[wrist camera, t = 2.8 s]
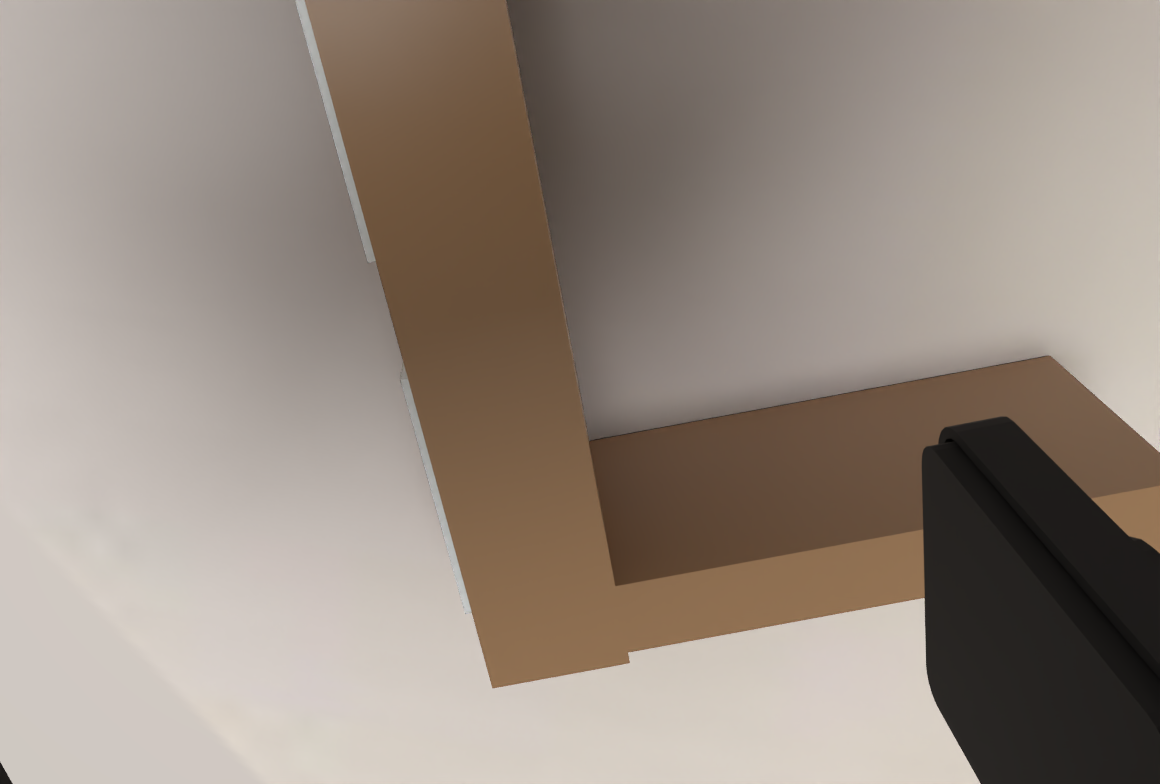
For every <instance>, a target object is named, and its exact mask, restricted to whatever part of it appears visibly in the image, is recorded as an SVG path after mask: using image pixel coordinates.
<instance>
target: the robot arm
mask: <svg viewBox="0 0 1160 784" xmlns="http://www.w3.org/2000/svg"><path fill="white" fill-rule="evenodd" d="M922 503H923V545H924V588H925V631H926V667H927V675H928V680H929V684H930V688H931V691H932V694H933V697H934V700H935V702H936V704H937V706H938V708H939V710H940V712H941V714H942V715H943V717H944V719H945V721H946V722H947V724H948V726H949V728H950V730H951V731H952V733H953V735H954V737H955V738H956V740H957V742H958V744H959V746H960V747H961V749H962V751H963V753H964V754H965V756H966V758H967V760H968V762H969V763H970V765H971V767H972V769H973V770H974V772H975V774H976V776H977V778H978V779H979V781H980V783H981V784H1160V553H1159V552H1158V551H1157V550H1155V549H1154V548H1153V547H1152V546H1150V545H1149V544H1147V543H1146V542H1145V541H1143V540H1142V539H1139V538H1134V537H1130V536H1128V535H1127V534H1126V533H1125V532H1124V531H1123V530H1122V529H1121V528H1120V527H1119V526H1118V525H1117V524H1116V523H1115V522H1114V521H1113V520H1112V519H1111V518H1110V517H1109V516H1108V515H1107V514H1106V513H1105V512H1104V511H1103V510H1102V509H1101V508H1100V507H1099V506H1098V505H1097V504H1096V503H1095V502H1094V501H1093V500H1092V499H1091V498H1090V497H1089V496H1088V495H1087V494H1086V493H1085V492H1084V491H1083V490H1082V489H1081V488H1080V487H1079V486H1078V485H1077V484H1076V483H1075V482H1074V481H1073V480H1072V479H1071V478H1070V477H1069V476H1068V475H1067V474H1066V473H1065V472H1064V471H1063V470H1062V469H1061V468H1060V467H1059V466H1058V465H1057V464H1056V463H1055V462H1054V461H1053V460H1052V459H1051V458H1050V457H1049V456H1048V455H1047V454H1046V453H1045V452H1044V451H1043V450H1042V449H1041V448H1040V447H1039V446H1038V445H1037V444H1036V443H1035V442H1034V441H1033V440H1032V439H1031V438H1030V437H1029V436H1028V435H1027V434H1026V433H1025V432H1024V431H1023V430H1022V429H1021V428H1020V427H1019V426H1018V425H1017V424H1016V423H1015V422H1014V421H1013V420H1011V419H1010V418H1008V417H1005V416H1000V417H995V418H990V419H985V420H980V421H974V422H969V423H964V424H959V425H954V426H948V427H945V428H944V429H943V430H942V431H941V433H940V436H939V441H938V444H937V445H932V446H926V447H925V448H924V450H923V453H922ZM0 784H12V782H11V780H10V779H9V777H8V775H7V773H6V772H5V770H4V768H3V766H2V764H1V763H0Z"/></svg>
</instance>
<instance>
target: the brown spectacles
mask: <svg viewBox="0 0 1160 784" xmlns="http://www.w3.org/2000/svg"><path fill="white" fill-rule="evenodd" d="M295 3H296V6H297V10H298V13H299V17H300V21H301V24H302V28H303V31H304V35H305V39H306V42H307V46H308V49H309V53H310V57H311V60H312V64H313V67H314V71H315V75H316V78H317V82H318V85H319V89H320V93H321V96H322V100H323V103H324V107H325V111H326V114H327V118H328V121H329V125H330V129H331V132H332V136H333V139H334V143H335V147H336V150H337V154H338V158H339V161H340V165H341V168H342V172H343V176H344V179H345V183H346V186H347V190H348V194H349V197H350V201H351V204H352V208H353V212H354V215H355V219H356V222H357V226H358V230H359V233H360V237H361V240H362V244H363V248H364V251H365V255H366V258H367V262H368V263H370V262H376V264H377V267H378V271H379V275H380V278H381V282H382V286H383V289H384V293H385V297H386V300H387V304H388V308H389V311H390V315H391V319H392V322H393V326H394V330H395V333H396V337H397V341H398V344H399V348H400V351H401V355H402V359H403V366H402V372H401V379H400V381H401V385H402V388H403V392H404V395H405V399H406V403H407V406H408V410H409V413H410V417H411V421H412V424H413V428H414V431H415V435H416V439H417V442H418V446H419V449H420V453H421V457H422V460H423V464H424V467H425V471H426V475H427V478H428V482H429V485H430V489H431V493H432V496H433V500H434V503H435V507H436V511H437V514H438V518H439V521H440V525H441V529H442V532H443V536H444V539H445V543H446V547H447V550H448V554H449V557H450V561H451V565H452V568H453V572H454V575H455V579H456V583H457V586H458V590H459V593H460V597H461V601H462V604H463V608H464V612H465V614H468V613H472V615H473V618H474V622H475V626H476V629H477V633H478V637H479V640H480V644H481V648H482V651H483V655H484V659H485V662H486V666H487V670H488V673H489V677H490V681H491V684H492V688H497V687H503V686H508V685H514V684H519V683H524V682H530V681H535V680H541V679H546V678H551V677H557V676H562V675H568V674H573V673H579V672H584V671H589V670H595V669H600V668H606V667H611V666H616V665H622V664H627V663H630V661H629V656H628V652H633V651H639V650H644V649H649V648H655V647H660V646H666V645H671V644H676V643H682V642H687V641H693V640H698V639H704V638H709V637H714V636H720V635H725V634H731V633H736V632H741V631H747V630H752V629H758V628H763V627H768V626H774V625H779V624H785V623H790V622H796V621H801V620H806V619H812V618H817V617H823V616H828V615H833V614H839V613H844V612H850V611H855V610H861V609H866V608H871V607H877V606H882V605H888V604H893V603H898V602H904V601H909V600H915V599H920V598H925V588H924V545H923V503H922V453H923V450H924V448H925V447H926V446H932V445H937V444H938V441H939V436H940V433H941V431H942V430H943V429H944V428H945V427H948V426H954V425H959V424H964V423H969V422H974V421H980V420H985V419H990V418H995V417H1000V416H1005V417H1008V418H1010V419H1011V420H1013V421H1014V422H1015V423H1016V424H1017V425H1018V426H1019V427H1020V428H1021V429H1022V430H1023V431H1024V432H1025V433H1026V434H1027V435H1028V436H1029V437H1030V438H1031V439H1032V440H1033V441H1034V442H1035V443H1036V444H1037V445H1038V446H1039V447H1040V448H1041V449H1042V450H1043V451H1044V452H1045V453H1046V454H1047V455H1048V456H1049V457H1050V458H1051V459H1052V460H1053V461H1054V462H1055V463H1056V464H1057V465H1058V466H1059V467H1060V468H1061V469H1062V470H1063V471H1064V472H1065V473H1066V474H1067V475H1068V476H1069V477H1070V478H1071V479H1072V480H1073V481H1074V482H1075V483H1076V484H1077V485H1078V486H1079V487H1080V488H1081V489H1082V490H1083V491H1084V492H1085V493H1086V494H1087V495H1088V496H1089V497H1090V498H1091V499H1092V500H1093V501H1094V502H1095V503H1096V504H1097V505H1098V506H1099V507H1100V508H1101V509H1102V510H1103V511H1104V512H1105V513H1106V514H1107V515H1108V516H1109V517H1110V518H1111V519H1112V520H1113V521H1114V522H1115V523H1116V524H1117V525H1118V526H1119V527H1120V528H1121V529H1122V530H1123V531H1124V532H1125V533H1126V534H1127V535H1128V536H1130V537H1134V538H1139V539H1142V540H1143V541H1145V542H1146V543H1147V544H1149V545H1150V546H1152V547H1153V548H1154V549H1155V550H1157V551H1158V552H1159V553H1160V453H1159V452H1158V451H1157V450H1156V449H1155V448H1154V447H1153V446H1151V445H1150V444H1149V443H1148V442H1147V441H1146V440H1145V439H1144V438H1142V437H1141V436H1140V435H1139V434H1138V433H1137V432H1136V431H1134V430H1133V429H1132V428H1131V427H1130V426H1129V425H1128V424H1127V423H1125V422H1124V421H1123V420H1122V419H1121V418H1120V417H1119V416H1118V415H1116V414H1115V413H1114V412H1113V411H1112V410H1111V409H1110V408H1108V407H1107V406H1106V405H1105V404H1104V403H1103V402H1102V401H1101V400H1099V399H1098V398H1097V397H1096V396H1095V395H1094V394H1093V393H1092V392H1090V391H1089V390H1088V389H1087V388H1086V387H1085V386H1084V385H1083V384H1081V383H1080V382H1079V381H1078V380H1077V379H1076V378H1075V377H1073V376H1072V375H1071V374H1070V373H1069V372H1068V371H1067V370H1066V369H1064V368H1063V367H1062V366H1061V365H1060V364H1059V363H1058V362H1057V361H1055V360H1054V359H1053V358H1052V357H1051V356H1046V357H1041V358H1035V359H1030V360H1024V361H1019V362H1014V363H1008V364H1003V365H997V366H992V367H987V368H981V369H976V370H970V371H965V372H960V373H954V374H949V375H944V376H938V377H933V378H927V379H922V380H917V381H911V382H906V383H900V384H895V385H890V386H884V387H879V388H873V389H868V390H863V391H857V392H852V393H846V394H841V395H836V396H830V397H825V398H820V399H814V400H809V401H803V402H798V403H793V404H787V405H782V406H776V407H771V408H766V409H760V410H755V411H749V412H744V413H739V414H733V415H728V416H723V417H717V418H712V419H706V420H701V421H696V422H690V423H685V424H679V425H674V426H669V427H663V428H658V429H652V430H647V431H642V432H636V433H631V434H625V435H620V436H615V437H609V438H604V439H599V440H593V441H589V437H588V431H587V426H586V421H585V415H584V410H583V405H582V399H581V394H580V389H579V383H578V378H577V373H576V367H575V362H574V357H573V351H572V346H571V341H570V335H569V330H568V325H567V319H566V314H565V309H564V303H563V298H562V293H561V288H560V282H559V277H558V272H557V266H556V261H555V256H554V250H553V245H552V240H551V234H550V229H549V224H548V218H547V213H546V208H545V202H544V197H543V192H542V186H541V181H540V176H539V170H538V165H537V160H536V154H535V149H534V144H533V138H532V133H531V128H530V122H529V117H528V112H527V106H526V101H525V96H524V90H523V85H522V80H521V74H520V69H519V64H518V58H517V53H516V48H515V43H514V37H513V32H512V27H511V21H510V16H509V11H508V5H507V0H295Z"/></svg>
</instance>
